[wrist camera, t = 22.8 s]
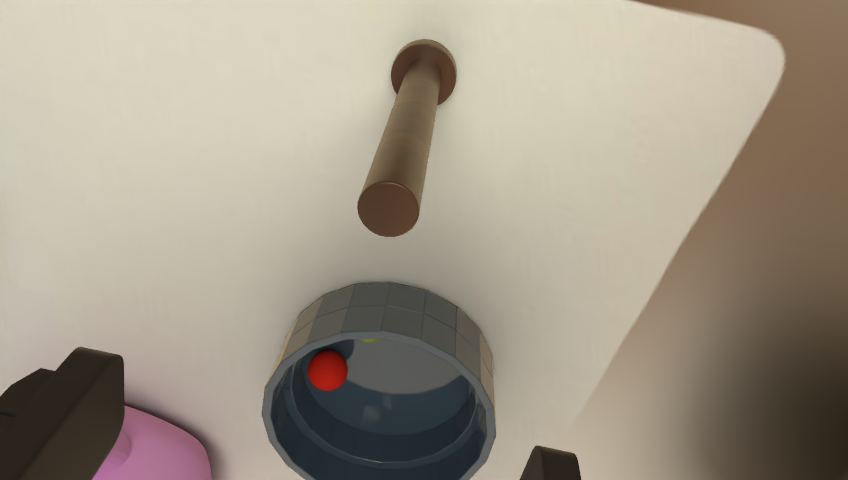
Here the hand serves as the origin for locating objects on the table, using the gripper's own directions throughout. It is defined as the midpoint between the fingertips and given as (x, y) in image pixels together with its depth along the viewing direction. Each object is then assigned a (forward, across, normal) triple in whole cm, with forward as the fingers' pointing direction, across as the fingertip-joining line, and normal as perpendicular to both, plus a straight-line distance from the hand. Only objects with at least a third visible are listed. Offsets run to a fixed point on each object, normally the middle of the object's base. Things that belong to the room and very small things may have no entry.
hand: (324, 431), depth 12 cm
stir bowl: (+27, -2, +22) cm, 35 cm away
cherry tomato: (+25, +2, +21) cm, 33 cm away
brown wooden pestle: (+27, 0, 0) cm, 27 cm away
